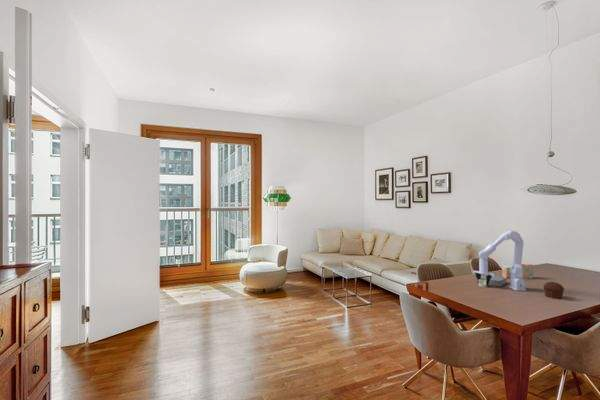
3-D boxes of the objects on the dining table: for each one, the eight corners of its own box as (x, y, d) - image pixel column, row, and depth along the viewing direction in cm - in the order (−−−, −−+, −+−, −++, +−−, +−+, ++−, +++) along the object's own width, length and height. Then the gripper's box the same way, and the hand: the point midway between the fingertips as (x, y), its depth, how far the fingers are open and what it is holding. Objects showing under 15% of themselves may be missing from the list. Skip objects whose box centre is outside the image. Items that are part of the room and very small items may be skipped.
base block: (506, 282, 244) (506, 277, 244) (499, 286, 234) (498, 281, 234) (484, 278, 257) (484, 274, 257) (476, 282, 247) (476, 277, 247)
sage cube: (488, 286, 236) (488, 279, 236) (485, 287, 233) (485, 280, 233) (481, 284, 240) (481, 278, 240) (478, 285, 237) (478, 279, 237)
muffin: (566, 300, 201) (566, 285, 201) (545, 298, 206) (545, 283, 206) (561, 295, 211) (561, 281, 211) (541, 293, 217) (541, 279, 217)
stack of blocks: (506, 278, 259) (506, 263, 259) (502, 276, 265) (502, 262, 265) (532, 278, 257) (532, 264, 257) (528, 276, 263) (527, 262, 263)
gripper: (495, 267, 233) (496, 285, 233) (475, 264, 244) (475, 281, 244) (492, 268, 229) (492, 286, 229) (471, 265, 240) (472, 282, 240)
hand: (483, 284), depth 236 cm, fingers closed on sage cube, 5 cm apart
